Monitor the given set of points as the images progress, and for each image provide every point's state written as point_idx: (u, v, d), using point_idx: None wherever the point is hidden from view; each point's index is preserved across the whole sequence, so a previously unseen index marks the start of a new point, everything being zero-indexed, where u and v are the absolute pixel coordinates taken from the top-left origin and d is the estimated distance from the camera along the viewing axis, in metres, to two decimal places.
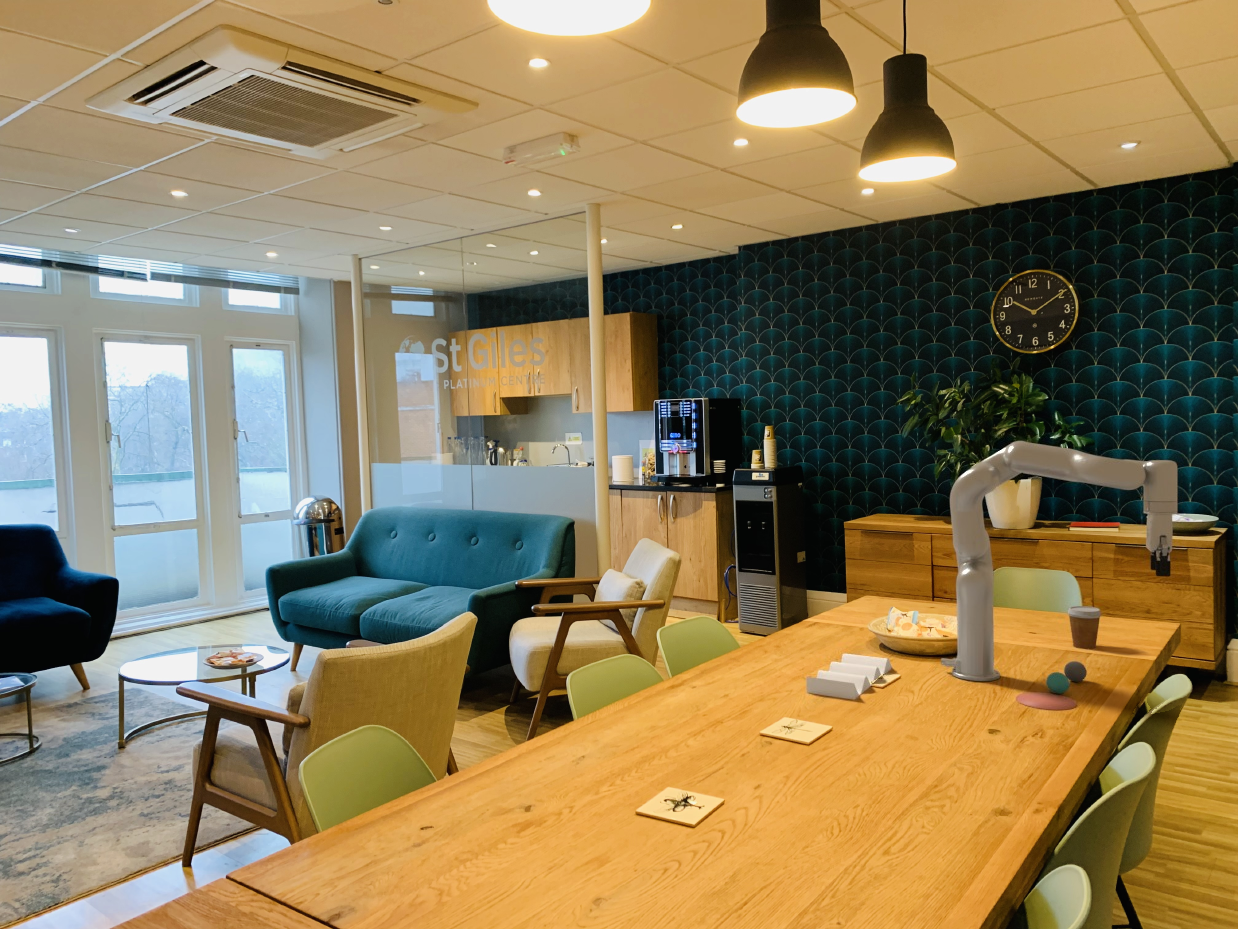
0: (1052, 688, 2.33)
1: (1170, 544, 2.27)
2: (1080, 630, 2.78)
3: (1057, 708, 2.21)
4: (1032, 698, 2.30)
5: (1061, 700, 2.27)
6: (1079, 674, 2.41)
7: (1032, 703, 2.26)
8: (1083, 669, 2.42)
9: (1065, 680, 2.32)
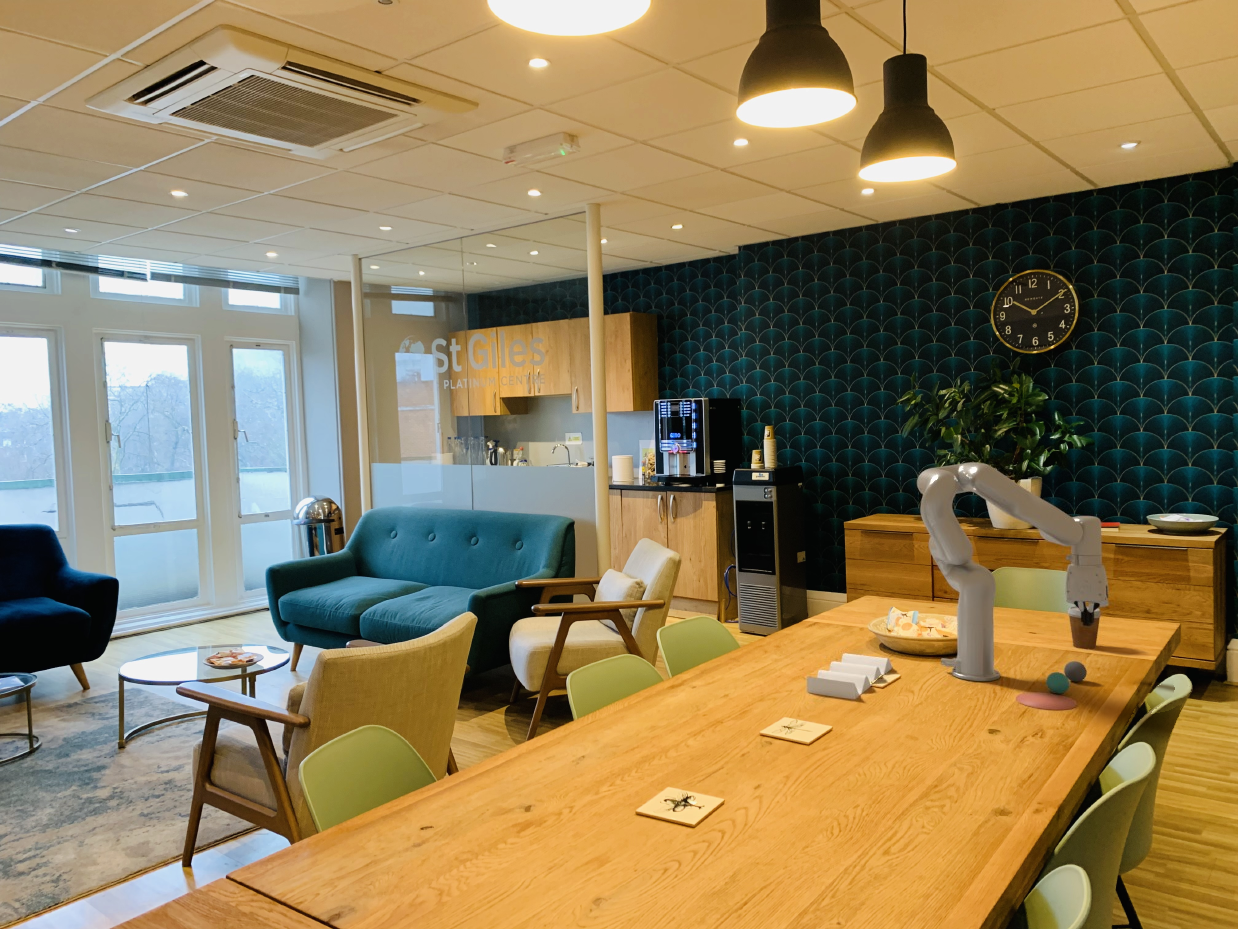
0: (1052, 688, 2.33)
1: None
2: (1080, 630, 2.78)
3: (1057, 708, 2.21)
4: (1032, 698, 2.30)
5: (1061, 700, 2.27)
6: (1079, 674, 2.41)
7: (1032, 703, 2.26)
8: (1083, 669, 2.42)
9: (1065, 680, 2.32)
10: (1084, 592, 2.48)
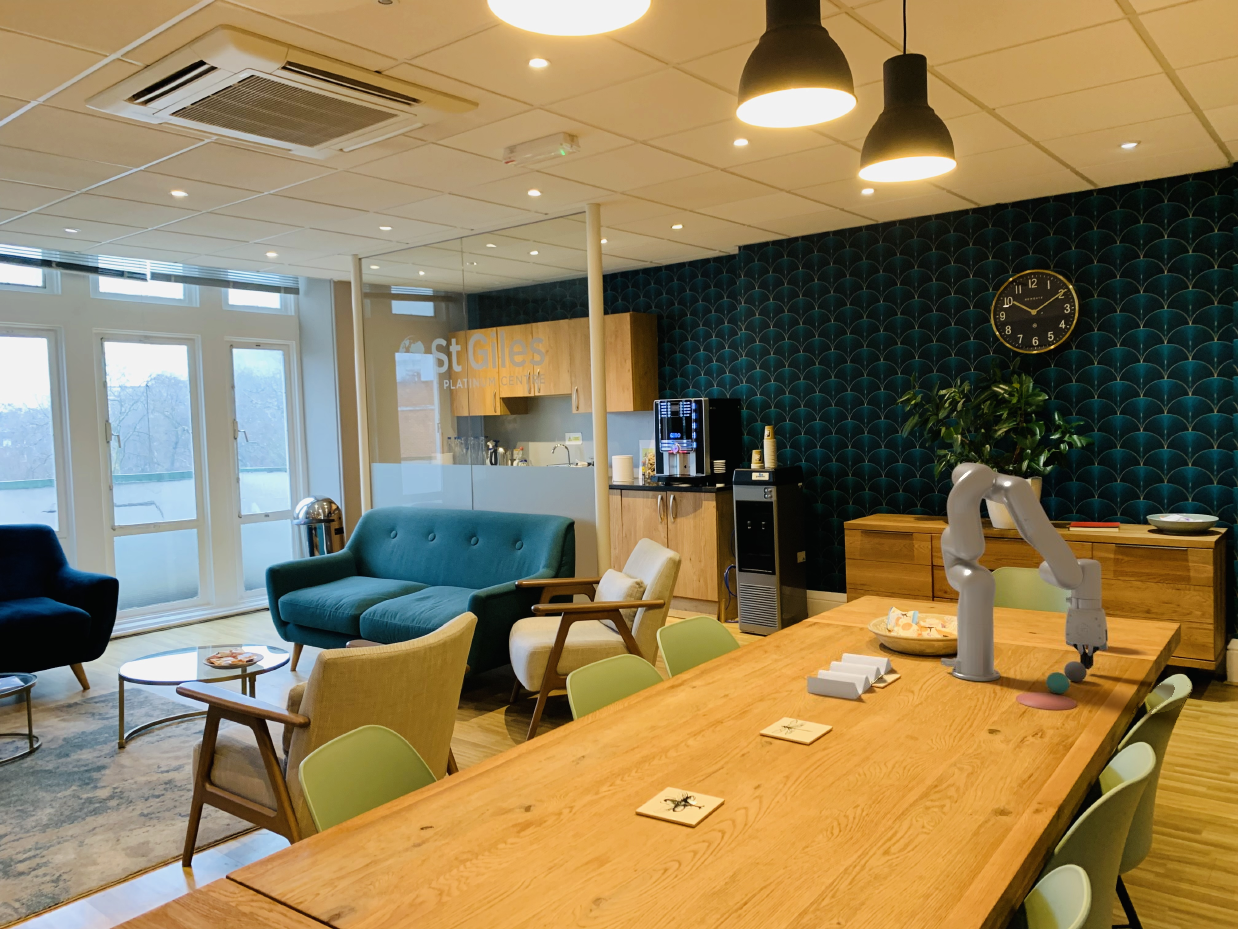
0: (1052, 688, 2.33)
1: (1107, 636, 2.48)
2: None
3: (1057, 708, 2.21)
4: (1032, 698, 2.30)
5: (1061, 700, 2.27)
6: (1079, 674, 2.41)
7: (1032, 703, 2.26)
8: (1083, 669, 2.42)
9: (1065, 680, 2.32)
10: (1084, 635, 2.48)
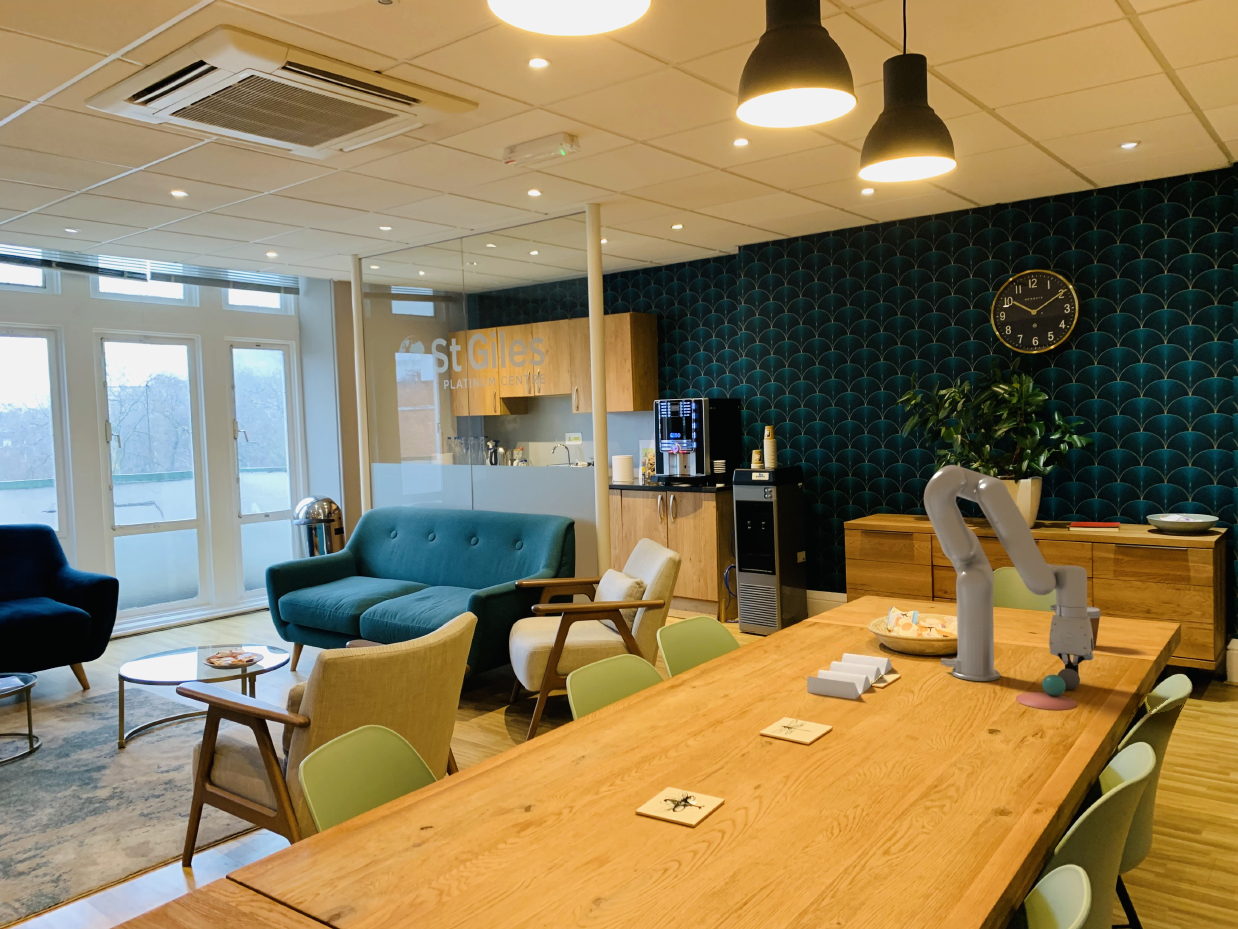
0: None
1: None
2: None
3: (1057, 708, 2.21)
4: (1032, 698, 2.30)
5: (1061, 700, 2.27)
6: None
7: (1032, 703, 2.26)
8: None
9: (1060, 689, 2.29)
10: (1068, 645, 2.39)
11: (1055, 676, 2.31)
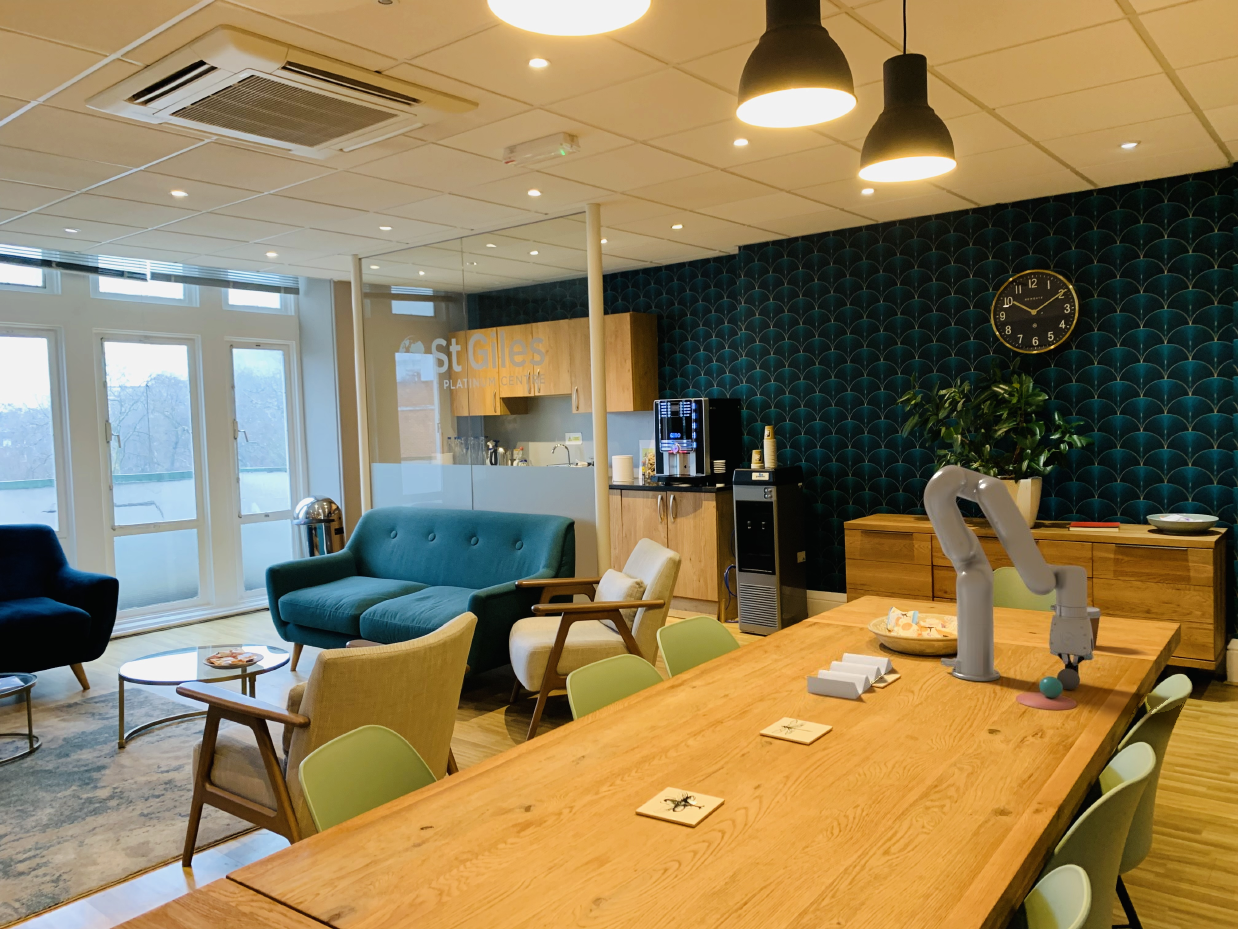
0: None
1: None
2: None
3: (1057, 708, 2.21)
4: (1032, 698, 2.30)
5: (1061, 700, 2.27)
6: None
7: (1032, 703, 2.26)
8: None
9: (1058, 694, 2.28)
10: (1068, 645, 2.39)
11: (1050, 684, 2.28)
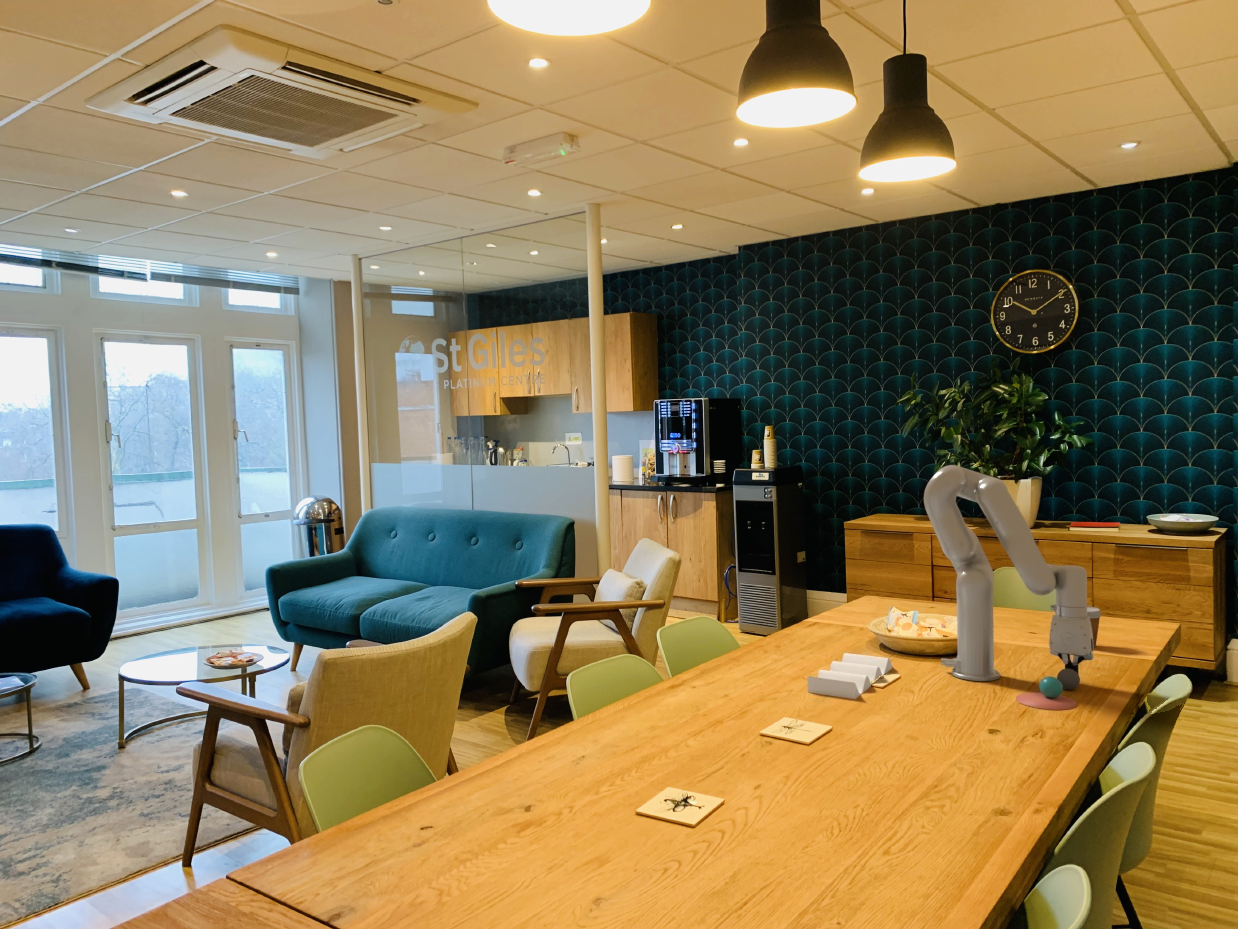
0: None
1: None
2: None
3: (1057, 708, 2.21)
4: (1032, 698, 2.30)
5: (1061, 700, 2.27)
6: None
7: (1032, 703, 2.26)
8: None
9: (1058, 694, 2.28)
10: (1068, 645, 2.39)
11: (1050, 684, 2.28)
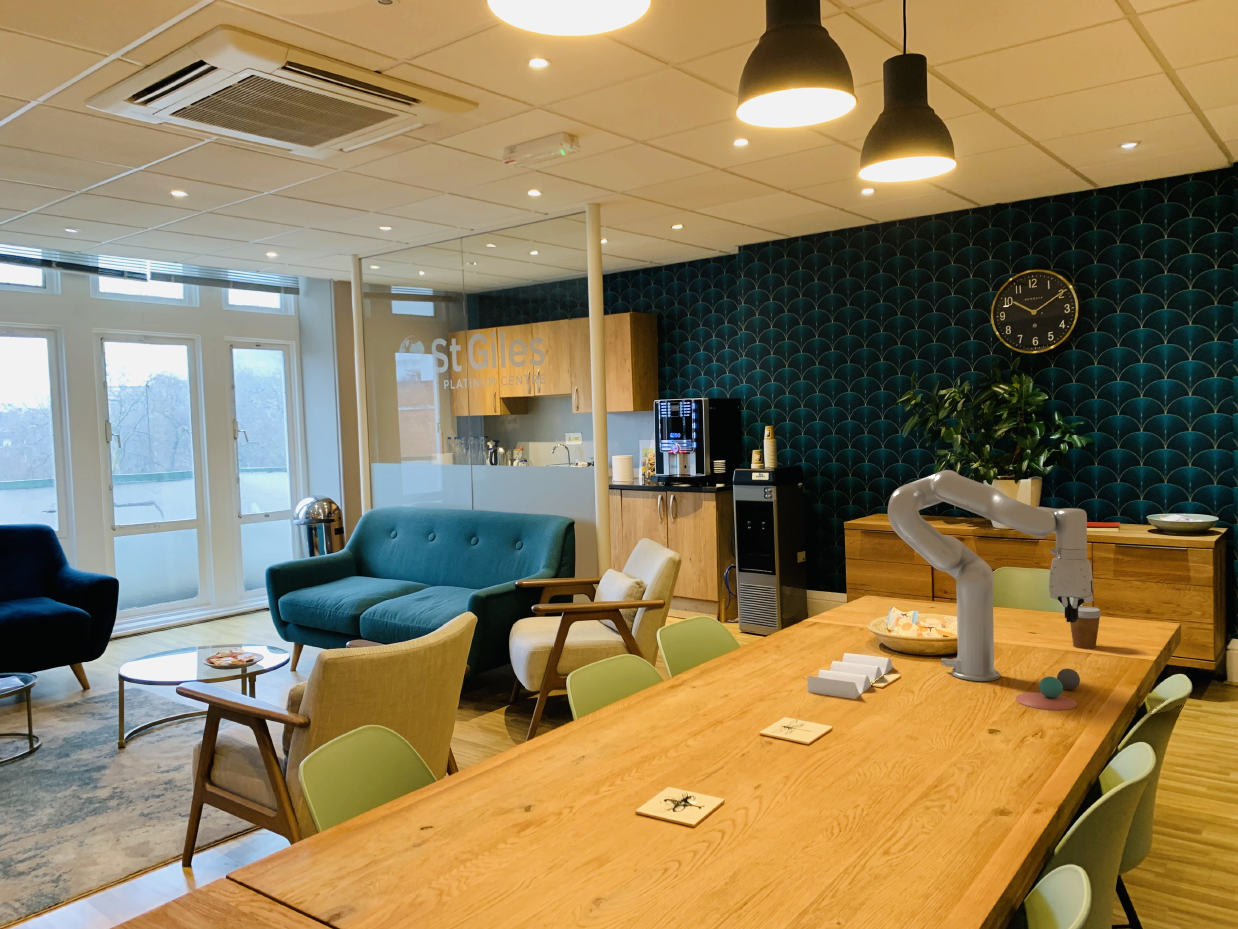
0: None
1: None
2: (1080, 630, 2.78)
3: (1057, 708, 2.21)
4: (1032, 698, 2.30)
5: (1061, 700, 2.27)
6: None
7: (1032, 703, 2.26)
8: None
9: (1058, 694, 2.28)
10: (1068, 587, 2.39)
11: (1050, 684, 2.28)
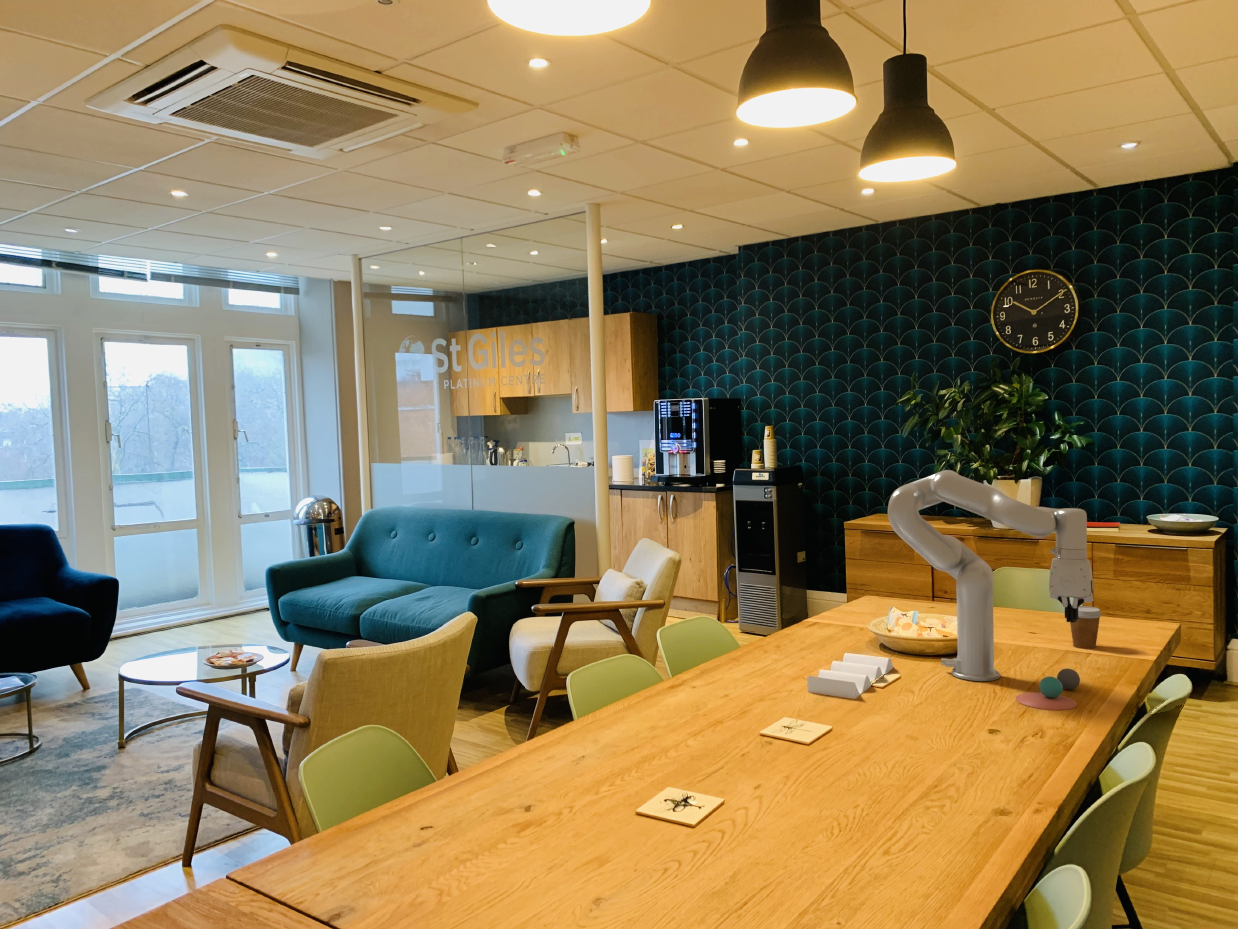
0: None
1: None
2: (1080, 630, 2.78)
3: (1057, 708, 2.21)
4: (1032, 698, 2.30)
5: (1061, 700, 2.27)
6: None
7: (1032, 703, 2.26)
8: None
9: (1058, 694, 2.28)
10: (1068, 587, 2.39)
11: (1050, 684, 2.28)
